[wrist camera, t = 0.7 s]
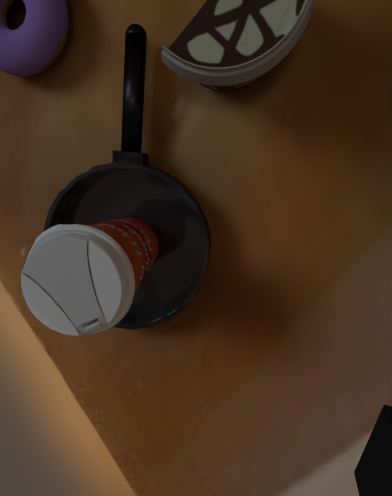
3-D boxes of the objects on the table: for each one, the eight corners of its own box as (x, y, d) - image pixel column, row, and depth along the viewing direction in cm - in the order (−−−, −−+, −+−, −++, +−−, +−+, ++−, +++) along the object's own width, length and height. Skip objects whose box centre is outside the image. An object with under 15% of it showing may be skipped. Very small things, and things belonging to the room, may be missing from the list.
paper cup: (182, 263, 36) (150, 317, 22) (117, 292, 37) (49, 359, 24) (148, 192, 35) (92, 204, 21) (82, 225, 36) (-10, 255, 23)
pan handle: (124, 28, 32) (116, 19, 30) (155, 30, 31) (149, 20, 29) (119, 164, 34) (112, 164, 32) (148, 166, 34) (142, 166, 32)
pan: (58, 157, 36) (42, 156, 33) (217, 170, 34) (216, 170, 31) (58, 307, 39) (44, 318, 36) (203, 325, 38) (200, 338, 35)
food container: (226, 135, 33) (223, 119, 24) (179, 88, 33) (155, 52, 23) (327, 26, 31) (370, -42, 21) (277, -26, 30) (297, -121, 21)
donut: (-36, -32, 33) (-69, -68, 28) (68, -34, 33) (53, -70, 29) (-15, 84, 35) (-43, 69, 30) (82, 80, 35) (70, 64, 31)
